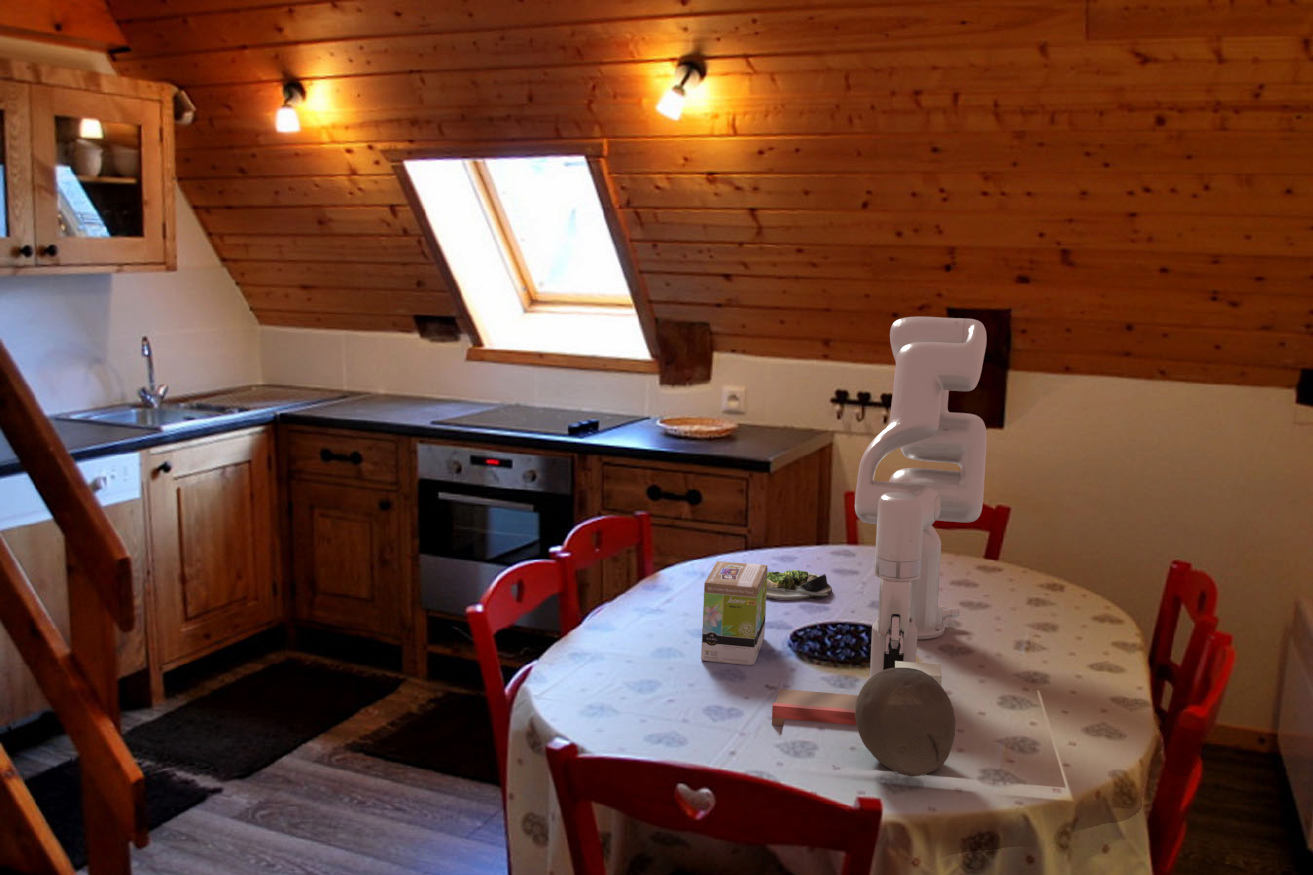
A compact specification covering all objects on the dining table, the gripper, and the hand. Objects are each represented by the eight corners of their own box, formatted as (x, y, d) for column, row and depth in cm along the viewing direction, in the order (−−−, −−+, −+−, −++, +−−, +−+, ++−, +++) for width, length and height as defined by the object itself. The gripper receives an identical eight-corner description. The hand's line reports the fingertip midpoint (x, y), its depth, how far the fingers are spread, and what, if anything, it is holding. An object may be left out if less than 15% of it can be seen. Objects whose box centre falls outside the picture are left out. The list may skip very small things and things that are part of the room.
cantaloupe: (952, 755, 181) (957, 659, 178) (952, 799, 167) (958, 695, 165) (855, 745, 184) (860, 650, 181) (848, 787, 170) (853, 685, 168)
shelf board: (939, 709, 198) (940, 690, 197) (942, 739, 186) (943, 720, 185) (778, 695, 202) (779, 677, 202) (771, 724, 191) (772, 705, 190)
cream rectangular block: (937, 712, 193) (940, 664, 192) (938, 725, 188) (941, 676, 187) (892, 708, 195) (895, 660, 193) (892, 721, 190) (895, 672, 188)
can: (864, 677, 211) (867, 610, 209) (907, 676, 211) (910, 610, 209) (875, 694, 203) (879, 625, 201) (919, 693, 204) (923, 624, 202)
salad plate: (749, 606, 249) (749, 585, 248) (730, 581, 266) (730, 560, 266) (840, 603, 252) (841, 581, 251) (815, 578, 270) (816, 557, 269)
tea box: (756, 666, 215) (758, 586, 213) (699, 662, 217) (701, 582, 215) (765, 638, 230) (768, 562, 227) (713, 634, 232) (714, 558, 229)
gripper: (875, 551, 213) (871, 647, 216) (874, 580, 196) (869, 684, 199) (919, 553, 211) (914, 651, 214) (921, 583, 194) (916, 688, 198)
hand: (892, 666), depth 207 cm, fingers closed on can, 7 cm apart
